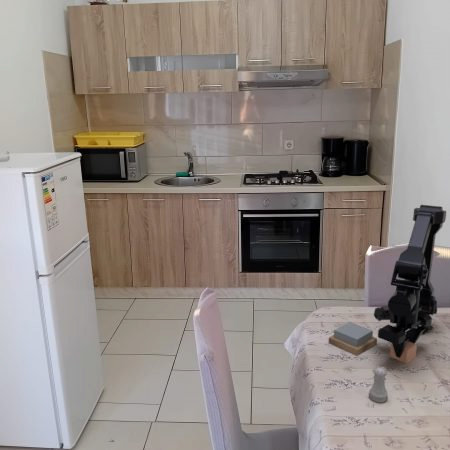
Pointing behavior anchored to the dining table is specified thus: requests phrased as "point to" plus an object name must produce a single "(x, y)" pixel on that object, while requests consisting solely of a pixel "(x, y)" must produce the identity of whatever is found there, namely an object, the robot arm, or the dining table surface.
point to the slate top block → (353, 334)
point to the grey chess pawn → (379, 385)
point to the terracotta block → (405, 353)
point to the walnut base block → (351, 348)
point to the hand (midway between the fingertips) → (403, 353)
